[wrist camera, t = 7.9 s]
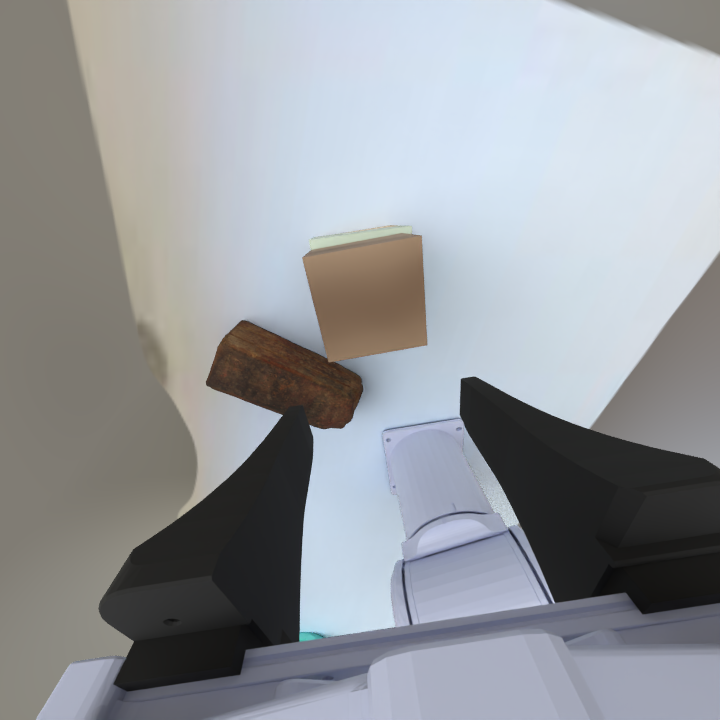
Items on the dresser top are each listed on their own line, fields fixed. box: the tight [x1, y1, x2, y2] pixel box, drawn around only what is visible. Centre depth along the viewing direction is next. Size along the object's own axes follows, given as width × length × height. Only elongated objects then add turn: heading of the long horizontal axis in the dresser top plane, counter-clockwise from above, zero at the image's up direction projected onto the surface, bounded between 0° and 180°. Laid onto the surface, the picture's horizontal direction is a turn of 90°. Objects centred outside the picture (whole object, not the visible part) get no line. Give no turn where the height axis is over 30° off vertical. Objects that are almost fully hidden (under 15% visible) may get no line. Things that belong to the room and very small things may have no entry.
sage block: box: [309, 226, 412, 250], centre depth 15 cm, size 5×5×3 cm
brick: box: [206, 320, 363, 429], centre depth 21 cm, size 11×4×5 cm, turn 60°
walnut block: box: [302, 233, 427, 362], centre depth 12 cm, size 4×4×4 cm
